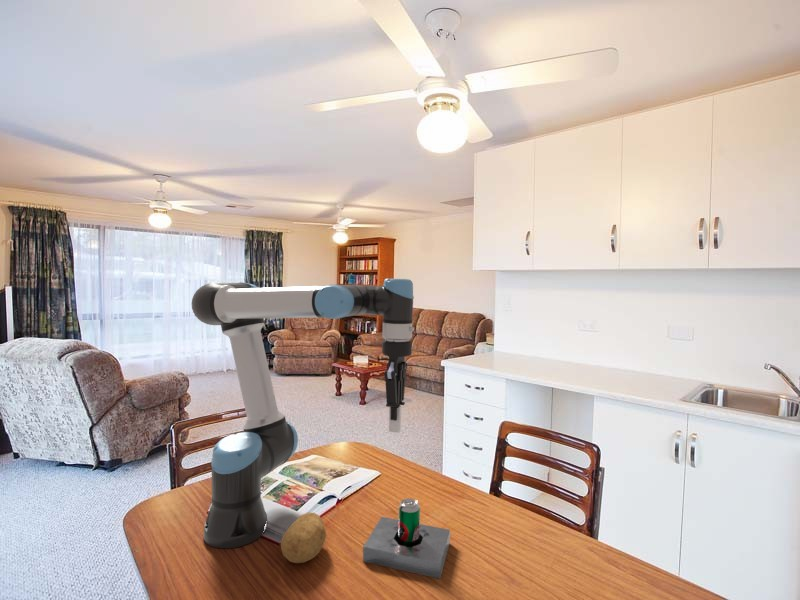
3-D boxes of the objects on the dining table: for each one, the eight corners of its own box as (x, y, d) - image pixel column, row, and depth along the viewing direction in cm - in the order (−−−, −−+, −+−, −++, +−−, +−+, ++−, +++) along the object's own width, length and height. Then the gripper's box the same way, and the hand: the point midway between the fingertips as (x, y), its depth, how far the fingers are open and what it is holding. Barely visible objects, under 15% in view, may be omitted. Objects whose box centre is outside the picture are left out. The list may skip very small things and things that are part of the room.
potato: (331, 537, 104) (331, 506, 104) (316, 577, 90) (317, 541, 90) (293, 535, 105) (293, 504, 104) (272, 574, 91) (273, 538, 90)
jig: (362, 561, 95) (363, 546, 95) (381, 529, 108) (381, 516, 108) (440, 578, 90) (440, 563, 90) (449, 543, 103) (450, 529, 103)
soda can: (417, 560, 96) (418, 509, 96) (395, 557, 97) (397, 507, 97) (420, 547, 101) (421, 498, 101) (400, 544, 102) (401, 496, 102)
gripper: (404, 343, 98) (401, 442, 99) (417, 337, 110) (415, 424, 111) (374, 341, 100) (372, 438, 101) (390, 335, 112) (388, 421, 113)
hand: (394, 431), depth 106 cm, fingers closed
